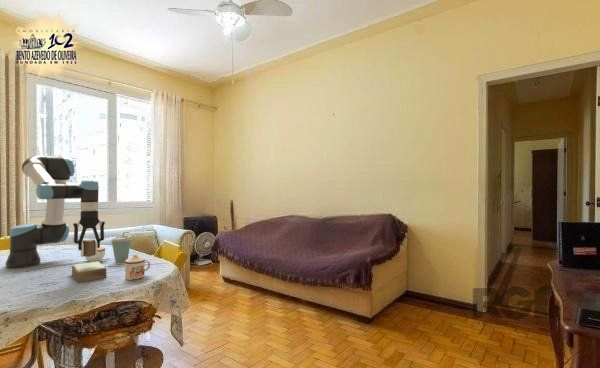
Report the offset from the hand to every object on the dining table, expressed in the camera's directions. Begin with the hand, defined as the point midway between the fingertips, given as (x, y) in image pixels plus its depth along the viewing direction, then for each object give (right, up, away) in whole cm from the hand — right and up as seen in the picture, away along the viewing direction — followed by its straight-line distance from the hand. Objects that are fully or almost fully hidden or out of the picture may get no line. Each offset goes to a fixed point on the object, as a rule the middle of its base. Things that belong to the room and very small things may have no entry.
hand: (89, 255), depth 157 cm
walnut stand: (0, -11, 0) cm, 11 cm away
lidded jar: (-17, -11, +29) cm, 36 cm away
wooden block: (0, 0, 0) cm, 1 cm away
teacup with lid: (+26, -11, -1) cm, 28 cm away
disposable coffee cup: (-1, -11, +30) cm, 32 cm away
